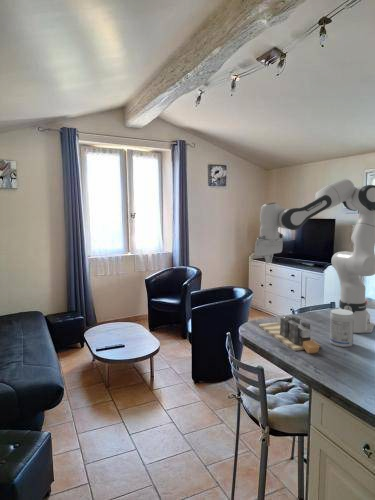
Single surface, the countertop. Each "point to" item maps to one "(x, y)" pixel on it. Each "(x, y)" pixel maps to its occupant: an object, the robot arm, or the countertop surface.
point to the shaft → (302, 330)
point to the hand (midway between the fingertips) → (268, 263)
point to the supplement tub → (341, 327)
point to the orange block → (310, 346)
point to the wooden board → (287, 332)
